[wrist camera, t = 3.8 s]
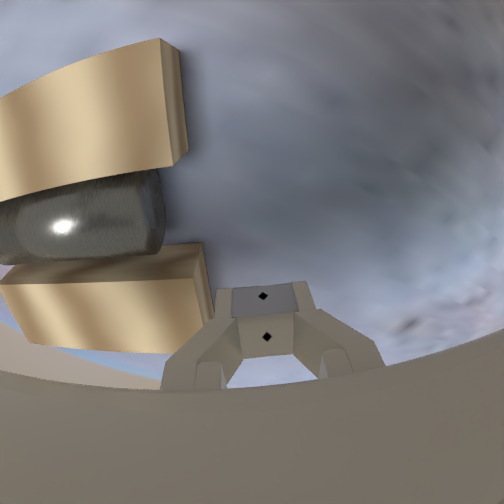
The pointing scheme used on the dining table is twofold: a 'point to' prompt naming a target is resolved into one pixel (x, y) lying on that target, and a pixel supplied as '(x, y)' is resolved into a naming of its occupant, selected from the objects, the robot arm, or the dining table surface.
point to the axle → (85, 220)
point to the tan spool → (96, 166)
